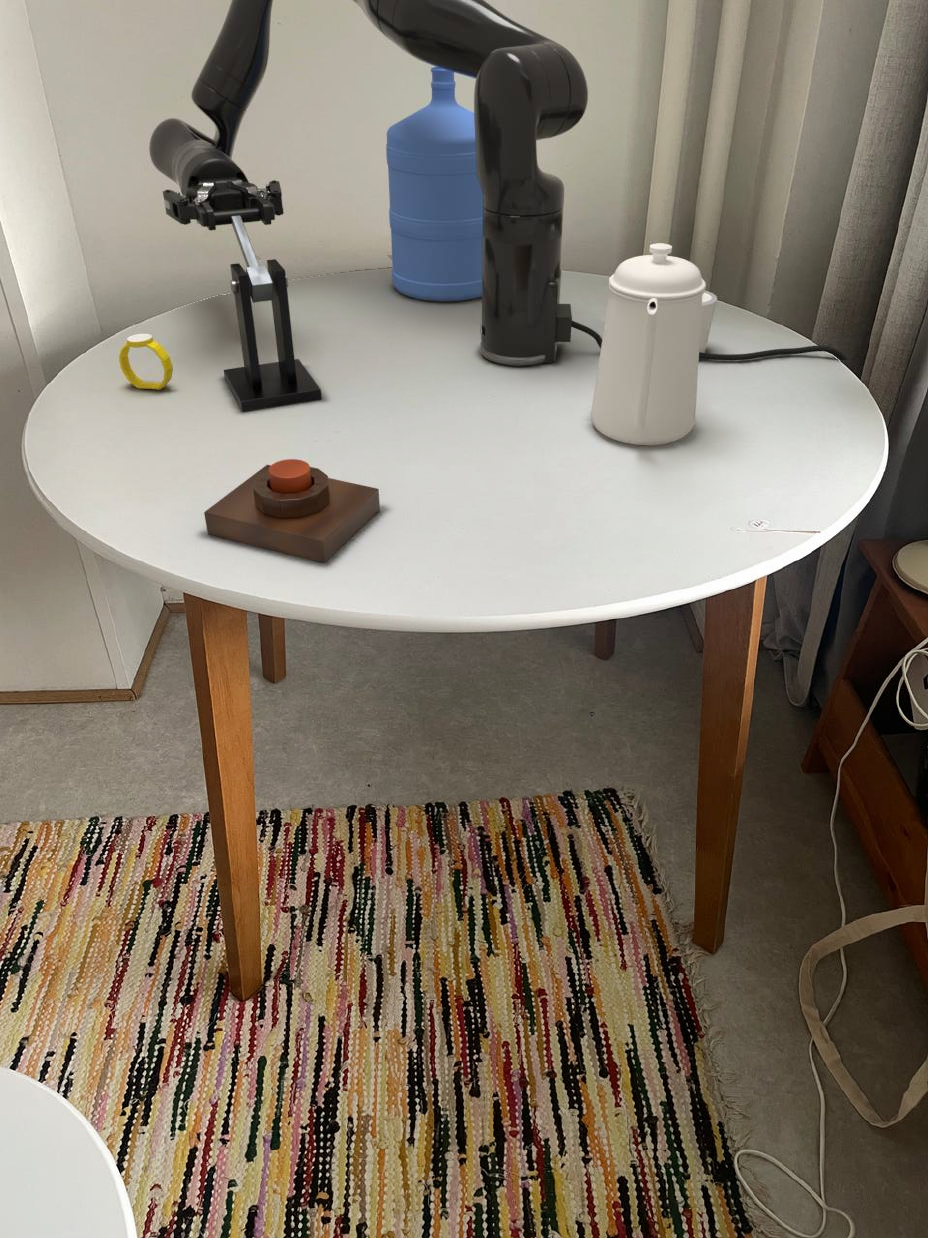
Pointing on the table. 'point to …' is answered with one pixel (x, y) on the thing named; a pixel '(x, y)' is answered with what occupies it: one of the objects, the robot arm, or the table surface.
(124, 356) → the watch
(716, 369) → the table surface
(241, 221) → the lever
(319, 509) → the button block
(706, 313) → the white cup
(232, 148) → the robot arm
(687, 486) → the table surface
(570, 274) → the table surface
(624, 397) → the coffeepot
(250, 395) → the bracket
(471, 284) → the water jug
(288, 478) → the button
